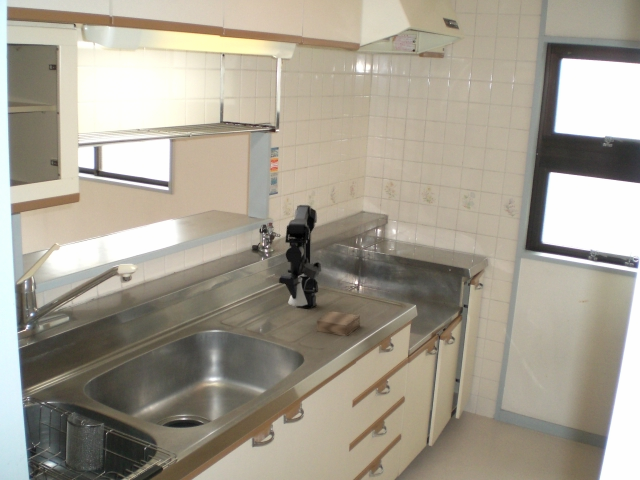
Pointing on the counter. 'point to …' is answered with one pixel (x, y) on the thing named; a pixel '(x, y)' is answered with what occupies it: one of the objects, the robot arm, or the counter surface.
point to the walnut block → (338, 323)
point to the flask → (298, 296)
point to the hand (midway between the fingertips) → (297, 296)
